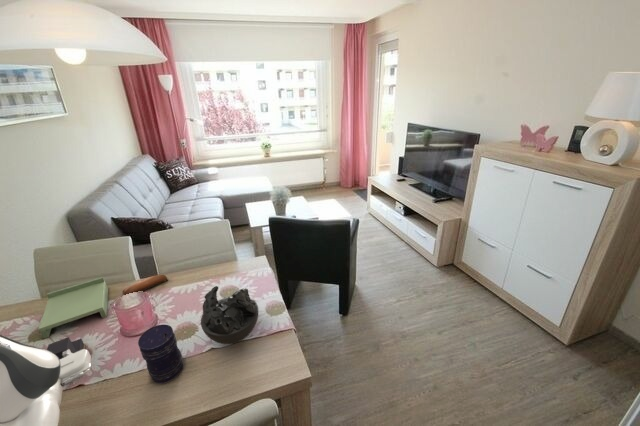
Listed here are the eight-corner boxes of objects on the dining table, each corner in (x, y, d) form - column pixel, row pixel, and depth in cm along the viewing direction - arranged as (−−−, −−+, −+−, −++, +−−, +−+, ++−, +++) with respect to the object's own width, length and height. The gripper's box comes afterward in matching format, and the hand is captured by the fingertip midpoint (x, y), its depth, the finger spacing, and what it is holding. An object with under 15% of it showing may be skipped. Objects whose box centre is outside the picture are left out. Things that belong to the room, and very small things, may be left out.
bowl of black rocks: (268, 343, 104) (261, 301, 97) (209, 366, 96) (198, 323, 89) (254, 308, 121) (247, 271, 113) (203, 326, 113) (192, 286, 105)
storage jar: (146, 386, 91) (131, 351, 85) (157, 359, 100) (144, 326, 94) (179, 380, 92) (167, 346, 86) (187, 354, 101) (177, 322, 95)
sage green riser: (43, 339, 111) (35, 325, 108) (53, 306, 128) (47, 293, 125) (106, 316, 120) (100, 303, 117) (108, 288, 137) (103, 276, 134)
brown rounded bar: (161, 273, 146) (161, 266, 141) (168, 284, 143) (167, 277, 139) (120, 291, 134) (118, 284, 130) (127, 303, 132) (125, 296, 127)
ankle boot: (60, 385, 93) (44, 358, 88) (66, 352, 104) (52, 326, 100) (81, 376, 95) (66, 349, 90) (85, 345, 107) (72, 320, 102)
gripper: (85, 362, 75) (86, 333, 86) (-28, 415, 64) (-11, 374, 75) (95, 380, 77) (95, 349, 88) (-13, 434, 66) (2, 392, 77)
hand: (46, 361), depth 81 cm, fingers open, 8 cm apart
